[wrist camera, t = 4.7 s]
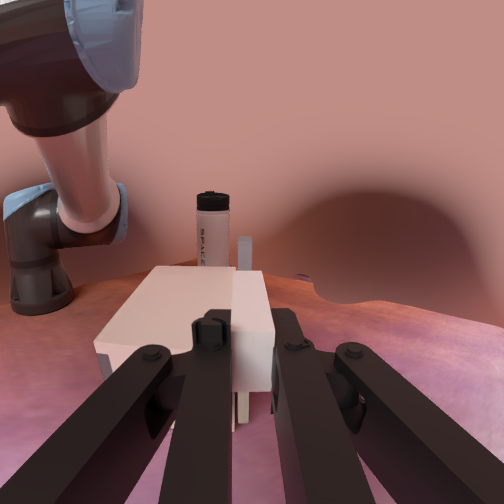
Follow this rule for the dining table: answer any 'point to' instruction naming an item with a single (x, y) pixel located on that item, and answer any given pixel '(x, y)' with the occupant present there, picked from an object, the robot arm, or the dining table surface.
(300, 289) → the dining table surface
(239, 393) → the side door
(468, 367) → the dining table surface
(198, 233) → the travel mug
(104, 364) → the cream case
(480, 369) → the dining table surface
